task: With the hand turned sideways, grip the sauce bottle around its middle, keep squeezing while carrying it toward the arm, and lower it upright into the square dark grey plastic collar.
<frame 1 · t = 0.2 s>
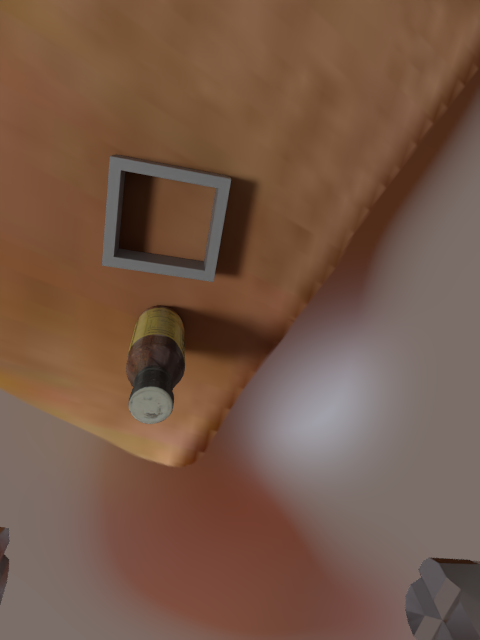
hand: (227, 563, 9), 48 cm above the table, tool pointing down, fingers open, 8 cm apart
sauce bottle: (161, 323, 58), on the table
bottle collar: (166, 216, 53), on the table
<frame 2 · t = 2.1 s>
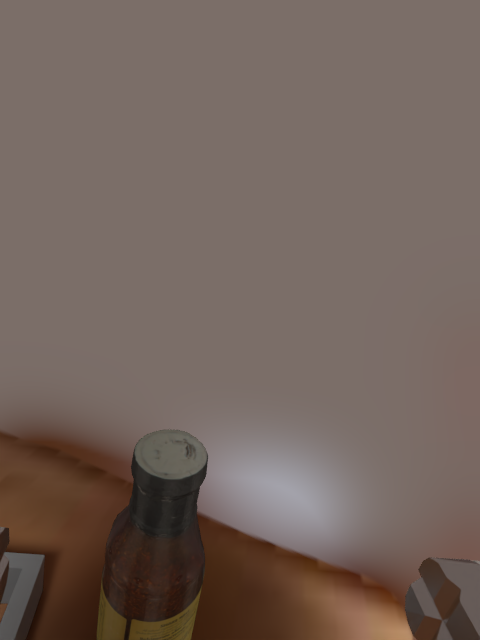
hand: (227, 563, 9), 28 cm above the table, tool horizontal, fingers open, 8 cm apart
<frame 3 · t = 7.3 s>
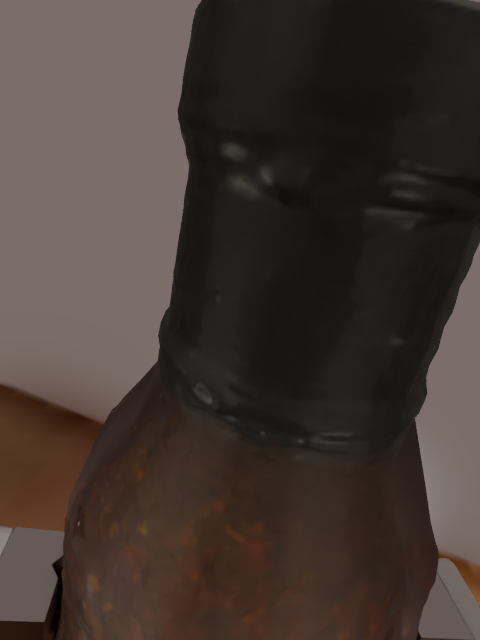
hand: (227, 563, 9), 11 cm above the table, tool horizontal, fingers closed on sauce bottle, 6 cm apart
when the fingers open (12 cm above the table, at t = 13.8 s): sauce bottle drops 1 cm, resting in bottle collar.
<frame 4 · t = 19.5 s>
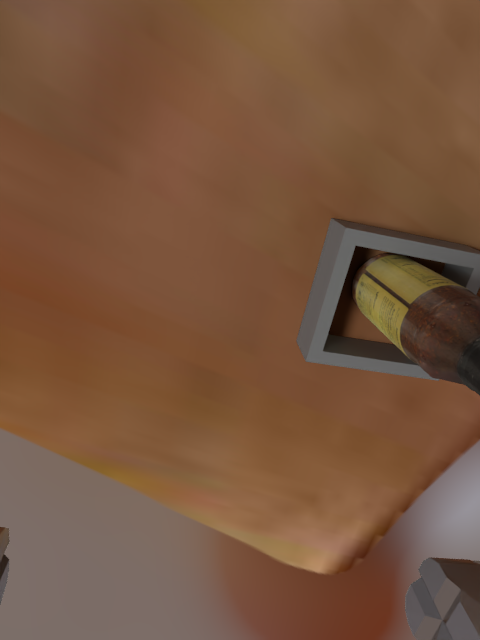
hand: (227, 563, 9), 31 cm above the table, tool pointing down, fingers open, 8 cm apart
sauce bottle: (381, 280, 40), resting in bottle collar
bottle collar: (378, 294, 41), on the table
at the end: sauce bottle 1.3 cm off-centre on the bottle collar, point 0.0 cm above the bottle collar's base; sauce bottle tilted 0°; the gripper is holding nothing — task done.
